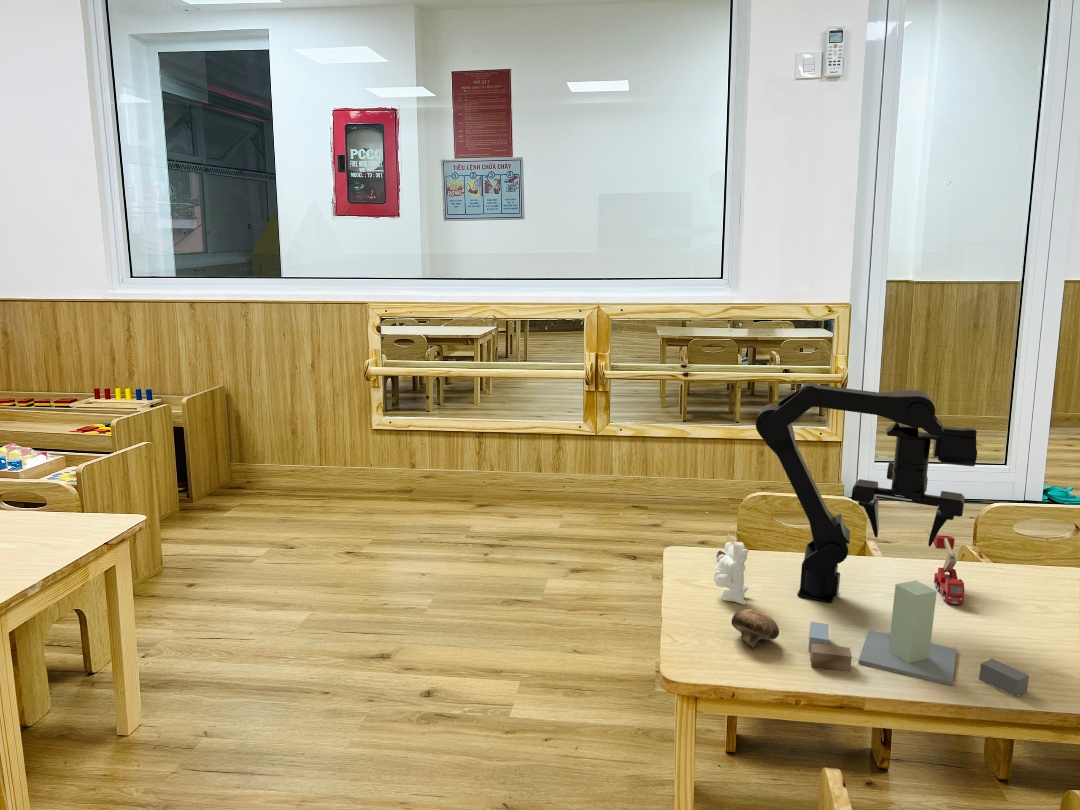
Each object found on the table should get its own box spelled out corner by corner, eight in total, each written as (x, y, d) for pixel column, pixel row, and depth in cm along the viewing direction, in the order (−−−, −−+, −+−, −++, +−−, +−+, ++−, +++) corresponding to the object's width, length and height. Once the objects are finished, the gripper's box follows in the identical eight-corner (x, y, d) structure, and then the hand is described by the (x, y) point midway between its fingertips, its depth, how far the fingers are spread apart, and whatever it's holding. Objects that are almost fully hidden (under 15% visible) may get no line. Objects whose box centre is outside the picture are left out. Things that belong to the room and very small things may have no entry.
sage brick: (888, 650, 143) (895, 584, 140) (908, 646, 145) (915, 580, 142) (908, 663, 139) (916, 595, 136) (928, 658, 141) (936, 590, 138)
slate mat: (858, 663, 140) (858, 659, 140) (868, 632, 150) (868, 629, 150) (952, 685, 134) (952, 681, 134) (956, 652, 144) (956, 648, 144)
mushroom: (746, 641, 140) (755, 604, 142) (717, 638, 147) (725, 604, 150) (783, 657, 143) (791, 620, 145) (752, 653, 150) (760, 619, 152)
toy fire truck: (945, 605, 162) (951, 557, 159) (928, 576, 175) (933, 532, 173) (964, 607, 161) (970, 559, 159) (945, 577, 174) (951, 533, 172)
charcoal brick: (978, 680, 136) (980, 663, 135) (989, 675, 137) (991, 658, 137) (1016, 698, 131) (1018, 680, 130) (1026, 692, 132) (1029, 675, 132)
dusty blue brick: (827, 656, 143) (828, 639, 142) (808, 653, 144) (809, 636, 143) (827, 639, 148) (828, 623, 148) (809, 637, 149) (810, 621, 149)
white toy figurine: (757, 607, 160) (761, 547, 157) (722, 608, 159) (726, 548, 157) (742, 588, 168) (745, 531, 166) (709, 589, 167) (712, 532, 165)
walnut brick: (811, 668, 139) (812, 652, 138) (810, 659, 142) (811, 643, 141) (850, 673, 137) (851, 656, 137) (847, 664, 140) (849, 647, 140)
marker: (735, 585, 170) (735, 576, 170) (725, 585, 170) (725, 575, 170) (723, 555, 185) (724, 547, 185) (714, 555, 185) (715, 546, 185)
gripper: (969, 457, 158) (960, 536, 161) (863, 443, 166) (856, 519, 170) (967, 472, 148) (957, 556, 151) (854, 457, 157) (847, 537, 160)
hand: (902, 541), depth 158 cm, fingers open, 9 cm apart
